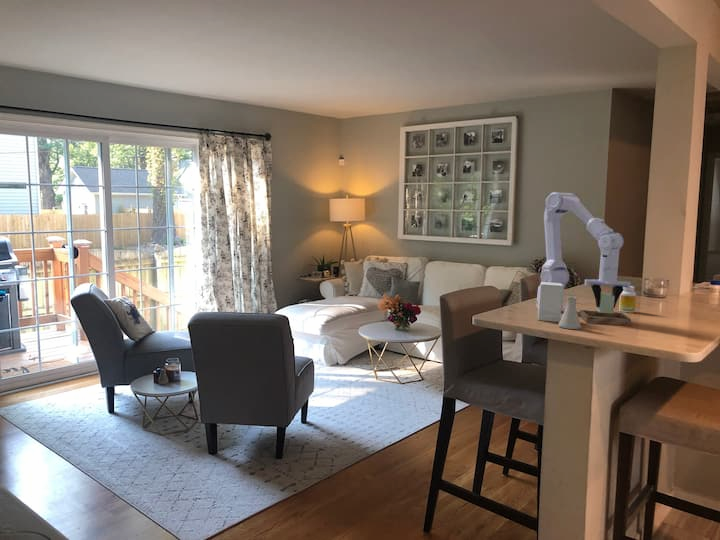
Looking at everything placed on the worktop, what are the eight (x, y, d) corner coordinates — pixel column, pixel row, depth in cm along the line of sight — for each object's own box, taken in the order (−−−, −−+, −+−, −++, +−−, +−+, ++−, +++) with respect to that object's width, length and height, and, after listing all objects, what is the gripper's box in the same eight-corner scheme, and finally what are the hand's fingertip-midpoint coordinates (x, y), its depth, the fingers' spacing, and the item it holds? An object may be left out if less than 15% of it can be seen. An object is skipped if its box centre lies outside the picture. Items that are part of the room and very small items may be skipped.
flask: (578, 331, 180) (581, 300, 179) (555, 327, 184) (557, 297, 183) (583, 327, 186) (585, 297, 185) (560, 323, 190) (562, 294, 189)
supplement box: (560, 322, 192) (563, 285, 191) (537, 320, 194) (540, 284, 193) (559, 318, 199) (562, 282, 198) (537, 316, 201) (540, 281, 200)
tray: (586, 323, 193) (586, 316, 193) (579, 316, 204) (580, 310, 204) (630, 325, 190) (631, 319, 190) (620, 318, 202) (621, 312, 202)
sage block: (599, 312, 195) (601, 295, 195) (596, 310, 200) (598, 293, 199) (613, 313, 194) (614, 296, 194) (610, 311, 199) (611, 294, 198)
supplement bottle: (636, 313, 213) (638, 287, 212) (620, 312, 214) (623, 286, 213) (632, 310, 219) (634, 285, 217) (617, 309, 220) (619, 284, 218)
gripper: (588, 268, 192) (585, 307, 194) (634, 270, 190) (630, 310, 192) (584, 266, 199) (581, 304, 201) (628, 268, 197) (625, 306, 198)
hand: (605, 307), depth 197 cm, fingers closed on sage block, 4 cm apart
